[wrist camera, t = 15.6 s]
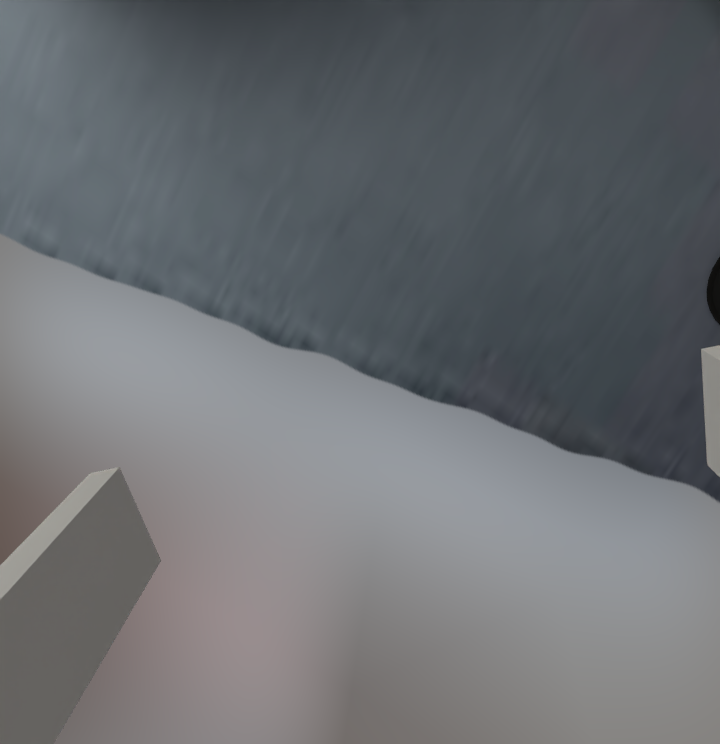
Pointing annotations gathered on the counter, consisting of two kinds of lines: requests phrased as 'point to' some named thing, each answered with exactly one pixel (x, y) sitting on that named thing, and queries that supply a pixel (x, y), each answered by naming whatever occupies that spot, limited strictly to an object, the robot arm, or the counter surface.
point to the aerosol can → (714, 291)
